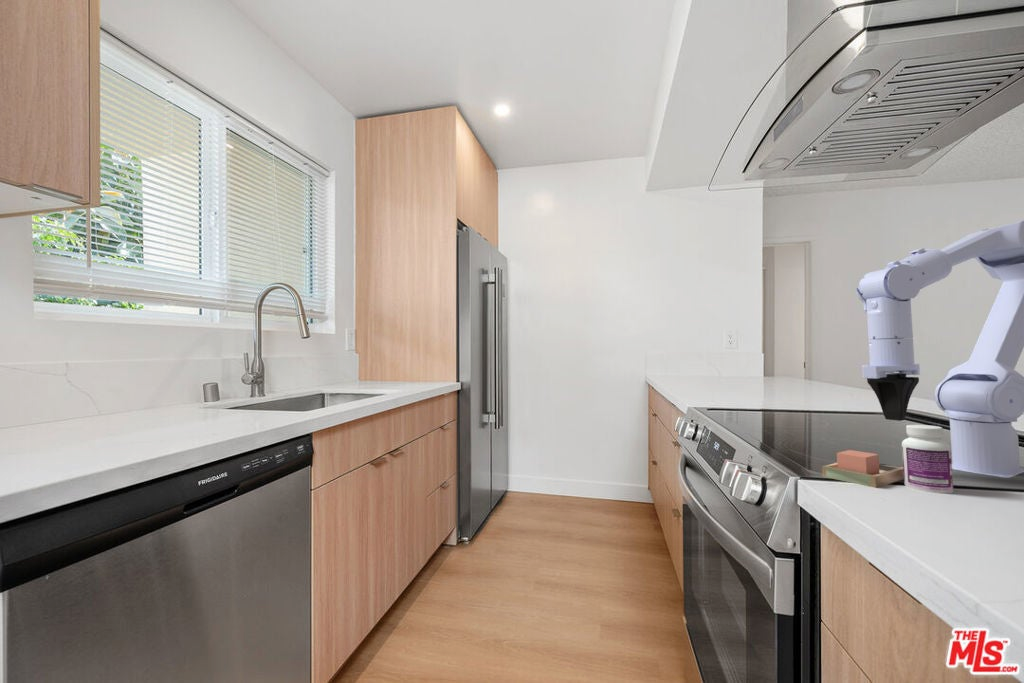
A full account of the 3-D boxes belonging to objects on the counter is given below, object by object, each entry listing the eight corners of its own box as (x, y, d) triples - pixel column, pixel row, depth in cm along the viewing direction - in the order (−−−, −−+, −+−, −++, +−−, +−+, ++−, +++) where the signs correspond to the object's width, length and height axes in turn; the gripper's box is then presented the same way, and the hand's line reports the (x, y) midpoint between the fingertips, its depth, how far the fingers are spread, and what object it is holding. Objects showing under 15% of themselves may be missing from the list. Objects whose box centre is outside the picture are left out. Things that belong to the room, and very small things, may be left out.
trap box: (872, 466, 79) (872, 454, 79) (925, 475, 73) (924, 462, 73) (822, 479, 72) (821, 466, 72) (875, 491, 65) (875, 476, 65)
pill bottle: (964, 497, 62) (959, 429, 62) (921, 496, 63) (917, 429, 63) (935, 486, 67) (930, 423, 67) (895, 485, 68) (891, 423, 68)
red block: (850, 474, 73) (849, 449, 73) (879, 479, 69) (878, 454, 69) (838, 477, 71) (836, 452, 71) (867, 483, 67) (865, 457, 67)
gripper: (883, 339, 80) (887, 413, 80) (839, 340, 74) (844, 420, 73) (933, 337, 74) (938, 417, 74) (890, 338, 68) (895, 426, 67)
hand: (894, 419), depth 73 cm, fingers closed
